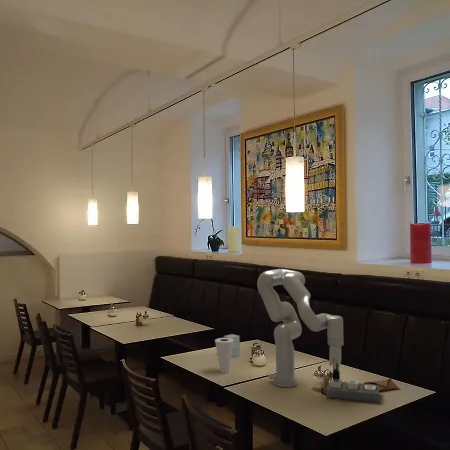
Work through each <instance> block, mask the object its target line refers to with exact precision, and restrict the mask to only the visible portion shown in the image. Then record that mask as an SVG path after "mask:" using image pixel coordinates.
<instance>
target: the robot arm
mask: <svg viewBox="0 0 450 450" xmlns="http://www.w3.org/2000/svg"><path fill="white" fill-rule="evenodd" d="M256 282H257V283H256V284H257V285H256V287H257V290H258V293H259V294H260V296H261V299H262V302H263V304H264V306H265V309H266V312H267V314H268V316H269V318H270V320H271V321H272V322H275V323H279V322H282V323H279V324H278V325H277V326H276V327H275V328H274V331H273V337H274V345H275V373H274V374H271V373H268V376H267V378H269V380H273V385H274V386H276V387H281V388H293V387H295V386H297V385H298V380H297V379H295V347H294V344H293V340H295V339H297V338H299V337H300V336H301V335H302V330H303V328H302V324H301V322H300V319H301V320H302V321H303V323H304V324H305V325H306V326H307V328H308V329H309V330H310V331H313V332H320V331H322V330H326V329H327V345H328V346H329V355H328V356H329V363H328V365H329V366H330V367H331V366H332V379H336V380H339V379H340V378H341V375H340V374H341V373H340V365H341V363H342V346H344V344H345V343H344V319H343V317H342V316H340V315H333V314H328V313H323V312H322V313H320V314H319V313H318V314H315V312H314V311H313V309H312V308H311V306H310V299H311V295H312V294H311V293H310V291H308V289H307V287H306V286H305V283H306V278H305V276H304V274H303V273H302V272H300V271H296V270H289V269H285V268H284V269H283V268H278V269H270V270H266V271H263V272H262V273H261V274H259V276H258V279H257V281H256ZM279 285H281V286H283V288H284V289H285V290H286V291H287V293H288V294H289V295H290V296H291V298H292V299H293V301H294V302H295V303H296V305H297V310H298V315H299V317H300V319H299V317H298V315H297V312H296V310H295V308H294V306H293V304H291V303H290V302H288V301H281V299H280V296H279V294H278V293H277V291H276V290H275V289H274V287H275V286H279Z"/></svg>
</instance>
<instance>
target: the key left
mask: <svg viewBox="0 0 450 450" xmlns="http://www.w3.org/2000/svg"><path fill="white" fill-rule="evenodd" d="M331 379H332V380H331ZM331 379H330V380H329V381H330V387H333V388H342V382H343V380H342V379H339V380H336V379H333V378H331Z"/></svg>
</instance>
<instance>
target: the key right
mask: <svg viewBox="0 0 450 450" xmlns="http://www.w3.org/2000/svg"><path fill="white" fill-rule="evenodd" d="M364 390H368V391H376V386H371V385H365V388H364Z"/></svg>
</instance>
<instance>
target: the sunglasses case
mask: <svg viewBox="0 0 450 450" xmlns="http://www.w3.org/2000/svg"><path fill="white" fill-rule="evenodd" d="M363 384H373V385H379V394H381V393H385V392H391V391H399V390H401V388H399V386H398V385H397V384H396V383H395V382H394V381H393V380H392V379H391V378H389V379H383V380H382V379H381V380H374V381H366V382H363Z"/></svg>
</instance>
